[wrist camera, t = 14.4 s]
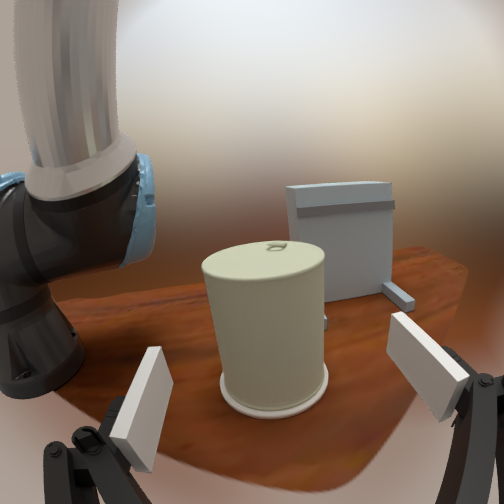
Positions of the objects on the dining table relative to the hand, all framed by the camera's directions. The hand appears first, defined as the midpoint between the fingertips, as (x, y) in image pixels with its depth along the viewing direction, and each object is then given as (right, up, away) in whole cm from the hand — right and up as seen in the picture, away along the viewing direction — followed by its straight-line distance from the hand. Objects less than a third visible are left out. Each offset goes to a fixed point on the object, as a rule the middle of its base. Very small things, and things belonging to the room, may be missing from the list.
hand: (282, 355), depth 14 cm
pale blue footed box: (+12, -1, +24) cm, 27 cm away
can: (0, -6, +9) cm, 11 cm away
